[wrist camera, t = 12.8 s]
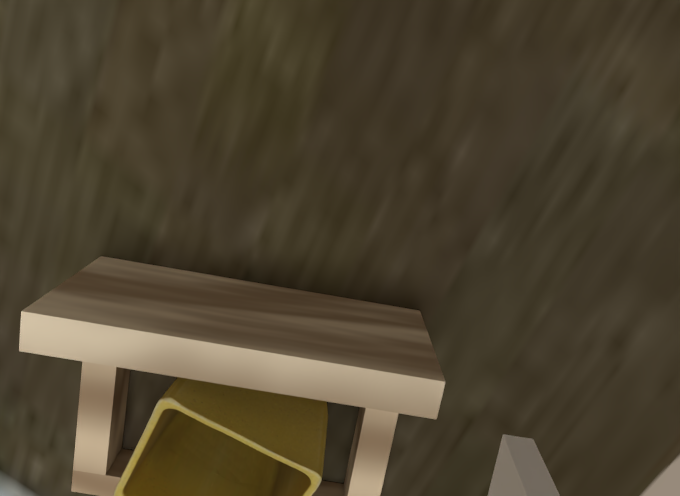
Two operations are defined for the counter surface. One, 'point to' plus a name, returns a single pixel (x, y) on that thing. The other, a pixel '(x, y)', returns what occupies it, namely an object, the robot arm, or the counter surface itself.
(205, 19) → the counter surface
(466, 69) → the counter surface
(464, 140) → the counter surface
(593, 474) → the counter surface
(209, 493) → the flower pot
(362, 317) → the board
